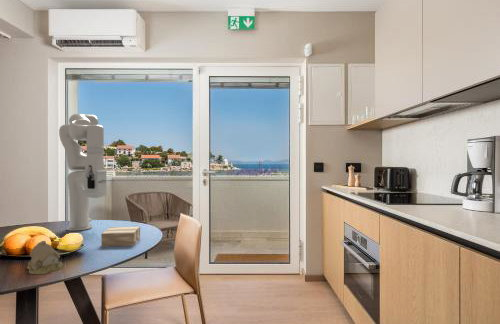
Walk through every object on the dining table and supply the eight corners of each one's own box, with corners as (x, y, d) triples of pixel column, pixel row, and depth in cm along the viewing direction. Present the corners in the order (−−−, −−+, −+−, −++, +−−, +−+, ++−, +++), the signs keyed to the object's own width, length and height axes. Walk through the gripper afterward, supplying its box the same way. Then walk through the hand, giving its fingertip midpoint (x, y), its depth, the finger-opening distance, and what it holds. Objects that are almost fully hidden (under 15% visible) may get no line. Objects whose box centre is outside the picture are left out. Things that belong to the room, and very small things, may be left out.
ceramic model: (68, 268, 127) (68, 241, 127) (35, 277, 119) (34, 247, 118) (51, 261, 136) (50, 235, 136) (18, 268, 127) (17, 241, 127)
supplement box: (97, 198, 165) (97, 171, 164) (83, 197, 166) (83, 170, 166) (107, 196, 172) (106, 170, 172) (93, 195, 174) (93, 169, 173)
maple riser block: (110, 239, 171) (110, 227, 171) (140, 238, 173) (140, 226, 172) (101, 247, 157) (101, 233, 157) (133, 246, 159) (133, 232, 159)
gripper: (96, 150, 177) (96, 185, 178) (78, 151, 160) (78, 189, 161) (110, 150, 177) (110, 185, 178) (94, 151, 160) (94, 189, 160)
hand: (95, 187), depth 169 cm, fingers closed on supplement box, 8 cm apart
